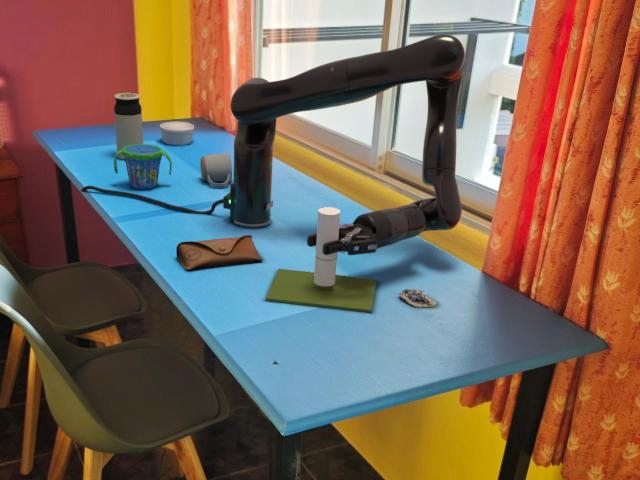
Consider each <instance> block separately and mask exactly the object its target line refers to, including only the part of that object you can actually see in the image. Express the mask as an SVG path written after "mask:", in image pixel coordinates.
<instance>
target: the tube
mask: <svg viewBox="0 0 640 480" xmlns="http://www.w3.org/2000/svg"><path fill="white" fill-rule="evenodd" d="M340 223H341V210H340V209H339V208H337V207H331V206H326V207H321V208H319V209H318V210H317V227H316V234H317V240H316V246H315V259H314V283H315V284H316V285H319V286H332V285H334V284H335V276H336V275H337V274H336V273H337V263H338V261H337V260H338V252H336V253H333V254H329V255H325V254H323V245H324V244H325V243H328V242H332V241H336V240H338V237H339V225H340Z"/></svg>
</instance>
